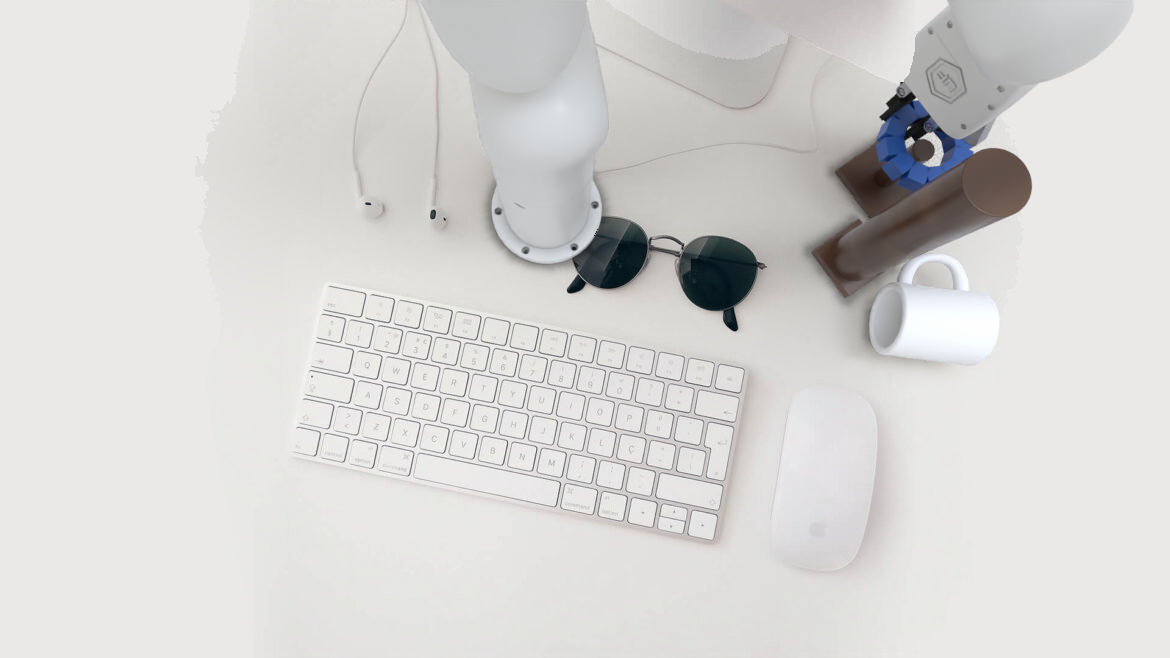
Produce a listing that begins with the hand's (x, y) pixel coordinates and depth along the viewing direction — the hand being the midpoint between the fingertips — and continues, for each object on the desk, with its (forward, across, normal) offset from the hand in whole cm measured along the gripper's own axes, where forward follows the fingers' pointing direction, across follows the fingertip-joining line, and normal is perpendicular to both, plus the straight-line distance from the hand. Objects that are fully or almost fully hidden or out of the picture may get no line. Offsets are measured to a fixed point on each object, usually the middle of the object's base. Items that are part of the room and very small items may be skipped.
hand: (900, 123), depth 66 cm
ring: (0, +3, 0) cm, 3 cm away
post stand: (+9, +4, 0) cm, 10 cm away
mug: (+9, +18, -7) cm, 21 cm away
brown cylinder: (+9, +9, -9) cm, 16 cm away
